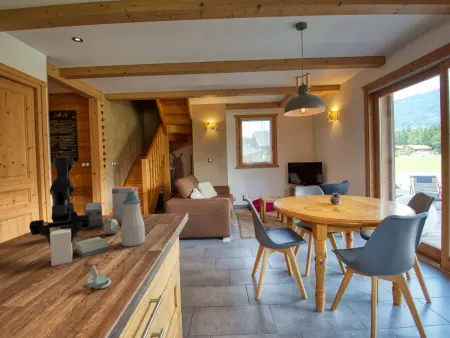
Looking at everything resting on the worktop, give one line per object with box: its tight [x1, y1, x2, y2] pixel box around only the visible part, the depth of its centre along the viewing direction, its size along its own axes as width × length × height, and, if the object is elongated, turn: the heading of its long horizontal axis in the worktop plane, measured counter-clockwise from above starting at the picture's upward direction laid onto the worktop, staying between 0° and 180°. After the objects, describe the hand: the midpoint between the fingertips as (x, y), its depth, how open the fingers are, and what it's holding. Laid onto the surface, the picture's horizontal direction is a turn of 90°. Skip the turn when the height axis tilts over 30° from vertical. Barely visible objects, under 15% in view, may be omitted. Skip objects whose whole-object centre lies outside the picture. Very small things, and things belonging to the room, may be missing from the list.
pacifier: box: [87, 264, 112, 290], centre depth 72 cm, size 7×6×6 cm
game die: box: [100, 218, 121, 237], centre depth 122 cm, size 9×8×10 cm
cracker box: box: [111, 186, 139, 225], centre depth 143 cm, size 14×6×21 cm, turn 71°
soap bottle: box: [120, 191, 146, 247], centre depth 108 cm, size 10×10×23 cm
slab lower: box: [74, 246, 109, 258], centre depth 100 cm, size 9×9×2 cm
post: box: [49, 228, 73, 267], centre depth 90 cm, size 6×6×11 cm
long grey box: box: [84, 201, 104, 228], centre depth 143 cm, size 25×8×11 cm, turn 27°
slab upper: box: [74, 236, 109, 253], centre depth 100 cm, size 9×9×2 cm
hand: (61, 244), depth 89 cm, fingers closed on post, 6 cm apart
